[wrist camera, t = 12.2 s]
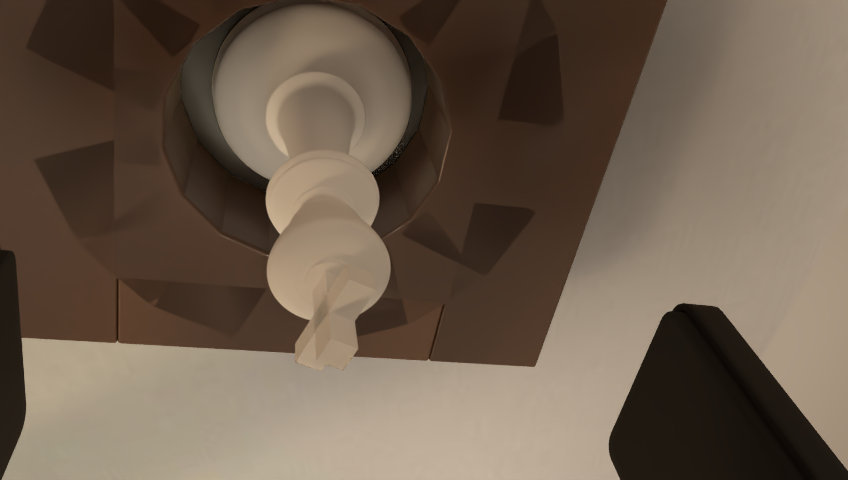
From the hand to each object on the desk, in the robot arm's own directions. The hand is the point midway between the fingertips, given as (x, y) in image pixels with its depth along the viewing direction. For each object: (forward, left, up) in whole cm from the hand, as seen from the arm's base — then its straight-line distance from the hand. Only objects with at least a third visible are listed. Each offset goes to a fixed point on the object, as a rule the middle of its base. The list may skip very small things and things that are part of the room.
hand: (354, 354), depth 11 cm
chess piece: (0, 0, -10) cm, 10 cm away
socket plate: (0, 0, -10) cm, 10 cm away
